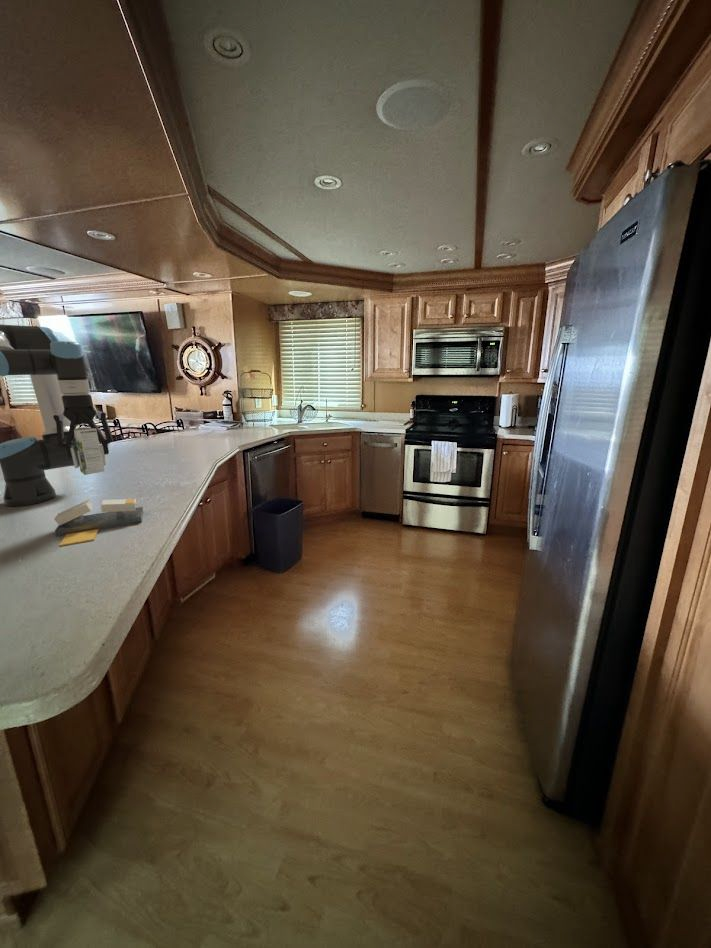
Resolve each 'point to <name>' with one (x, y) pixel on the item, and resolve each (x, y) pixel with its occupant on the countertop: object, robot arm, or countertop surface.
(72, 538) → the pad
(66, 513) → the white flat block
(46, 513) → the countertop surface
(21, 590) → the countertop surface
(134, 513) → the breaker panel
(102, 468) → the syrup box
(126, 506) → the rocker
